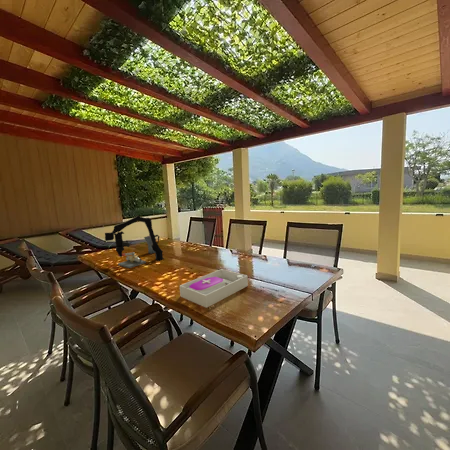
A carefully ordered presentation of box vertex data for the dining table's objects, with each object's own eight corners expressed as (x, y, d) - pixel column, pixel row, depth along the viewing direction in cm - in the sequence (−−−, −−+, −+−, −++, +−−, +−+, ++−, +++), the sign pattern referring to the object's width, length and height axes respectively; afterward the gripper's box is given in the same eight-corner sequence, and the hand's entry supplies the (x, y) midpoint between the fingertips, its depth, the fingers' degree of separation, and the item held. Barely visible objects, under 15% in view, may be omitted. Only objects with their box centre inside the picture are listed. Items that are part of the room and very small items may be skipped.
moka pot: (144, 252, 249) (142, 233, 246) (159, 250, 255) (158, 232, 252) (146, 254, 240) (144, 235, 237) (161, 252, 247) (159, 233, 244)
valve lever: (134, 254, 212) (134, 252, 211) (134, 254, 209) (134, 252, 209) (118, 256, 208) (118, 253, 208) (118, 256, 206) (118, 254, 206)
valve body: (142, 262, 208) (141, 255, 207) (137, 264, 204) (136, 256, 203) (130, 259, 219) (130, 252, 218) (125, 261, 215) (124, 254, 214)
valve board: (146, 262, 211) (145, 261, 211) (129, 268, 198) (129, 266, 198) (134, 260, 222) (134, 258, 221) (118, 265, 209) (117, 263, 209)
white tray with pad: (247, 286, 148) (247, 275, 147) (206, 308, 123) (205, 295, 122) (222, 278, 164) (221, 268, 163) (180, 297, 139) (179, 285, 138)
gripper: (129, 239, 198) (131, 258, 200) (128, 236, 215) (130, 253, 217) (114, 241, 194) (117, 260, 196) (114, 238, 211) (116, 255, 212)
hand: (120, 257), depth 205 cm, fingers closed
